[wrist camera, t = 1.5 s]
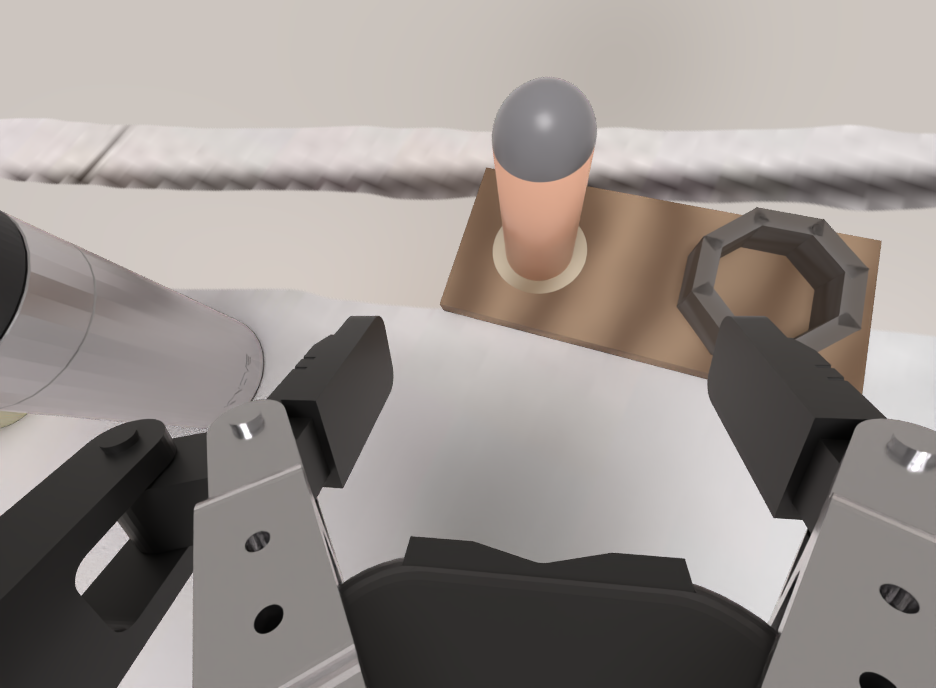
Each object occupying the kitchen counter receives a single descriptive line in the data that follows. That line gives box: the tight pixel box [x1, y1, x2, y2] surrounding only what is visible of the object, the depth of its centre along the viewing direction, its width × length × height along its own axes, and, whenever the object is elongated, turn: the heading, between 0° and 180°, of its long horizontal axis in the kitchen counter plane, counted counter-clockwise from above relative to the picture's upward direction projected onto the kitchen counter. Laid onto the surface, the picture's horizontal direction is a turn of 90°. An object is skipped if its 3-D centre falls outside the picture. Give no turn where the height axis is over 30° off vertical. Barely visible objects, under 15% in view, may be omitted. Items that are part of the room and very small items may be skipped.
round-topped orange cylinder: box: [492, 77, 597, 281], centre depth 26 cm, size 5×5×14 cm
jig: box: [440, 168, 881, 394], centre depth 30 cm, size 28×12×4 cm, turn 73°
